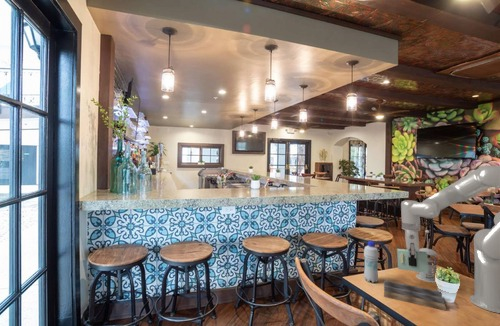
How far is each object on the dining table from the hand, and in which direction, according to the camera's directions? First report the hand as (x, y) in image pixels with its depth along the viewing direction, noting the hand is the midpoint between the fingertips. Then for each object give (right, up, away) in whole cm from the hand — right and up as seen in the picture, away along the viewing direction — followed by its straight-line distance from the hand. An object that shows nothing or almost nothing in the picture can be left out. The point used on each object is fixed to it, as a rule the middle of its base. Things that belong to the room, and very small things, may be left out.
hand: (412, 264), depth 121 cm
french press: (+14, -11, +9) cm, 20 cm away
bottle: (-17, -11, +6) cm, 21 cm away
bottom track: (-6, -11, -9) cm, 15 cm away
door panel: (0, -3, 0) cm, 3 cm away
